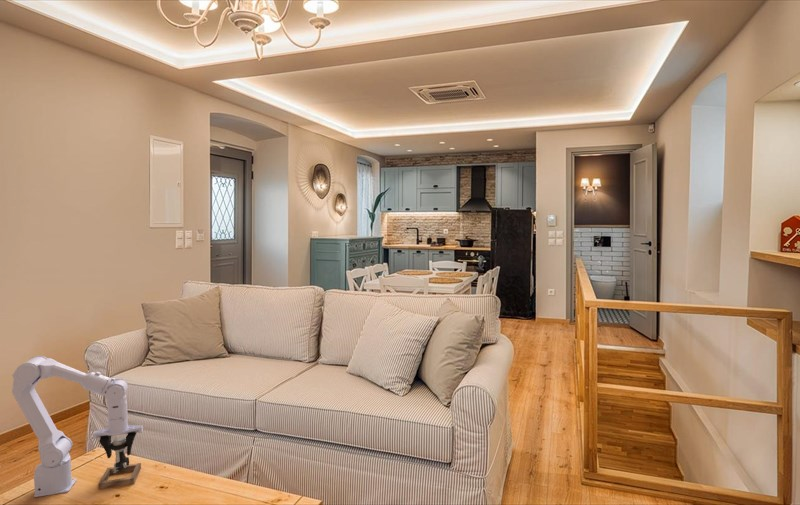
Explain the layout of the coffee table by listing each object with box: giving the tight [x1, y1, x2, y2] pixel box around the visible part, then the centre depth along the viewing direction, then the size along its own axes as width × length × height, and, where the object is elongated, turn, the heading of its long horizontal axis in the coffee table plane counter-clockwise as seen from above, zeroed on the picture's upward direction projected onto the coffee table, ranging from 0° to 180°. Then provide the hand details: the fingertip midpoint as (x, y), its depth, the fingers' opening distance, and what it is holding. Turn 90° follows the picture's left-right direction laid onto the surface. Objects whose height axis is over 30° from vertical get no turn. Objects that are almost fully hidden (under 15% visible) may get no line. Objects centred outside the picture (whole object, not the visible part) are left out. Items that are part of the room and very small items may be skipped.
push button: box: [110, 436, 130, 473], centre depth 160 cm, size 7×5×10 cm
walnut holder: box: [97, 462, 142, 491], centre depth 161 cm, size 10×11×2 cm
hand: (119, 455), depth 160 cm, fingers closed on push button, 5 cm apart
